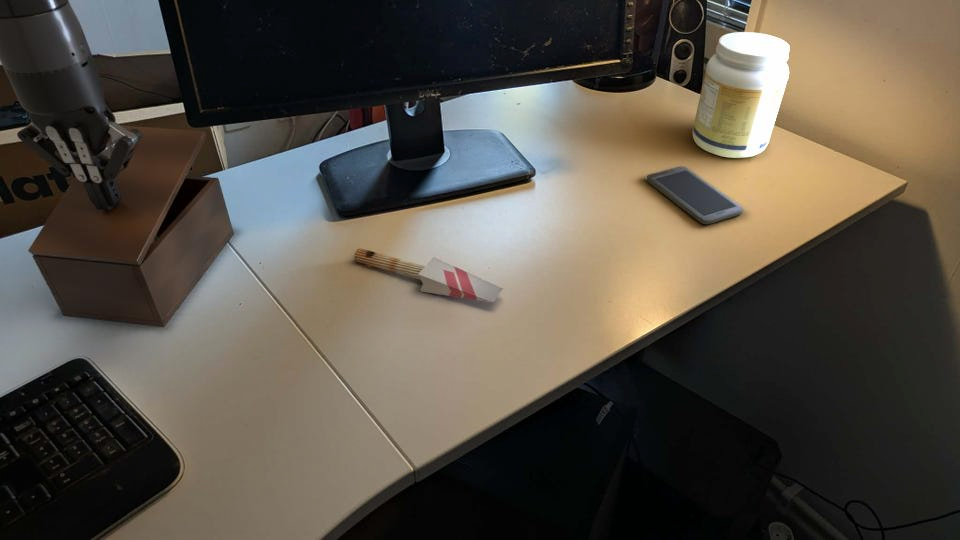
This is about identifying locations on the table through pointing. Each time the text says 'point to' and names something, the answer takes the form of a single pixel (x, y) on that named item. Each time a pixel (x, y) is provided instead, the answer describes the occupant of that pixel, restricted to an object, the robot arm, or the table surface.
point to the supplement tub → (741, 94)
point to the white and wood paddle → (434, 276)
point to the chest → (147, 263)
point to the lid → (123, 203)
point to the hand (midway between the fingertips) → (109, 206)
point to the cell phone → (694, 195)
